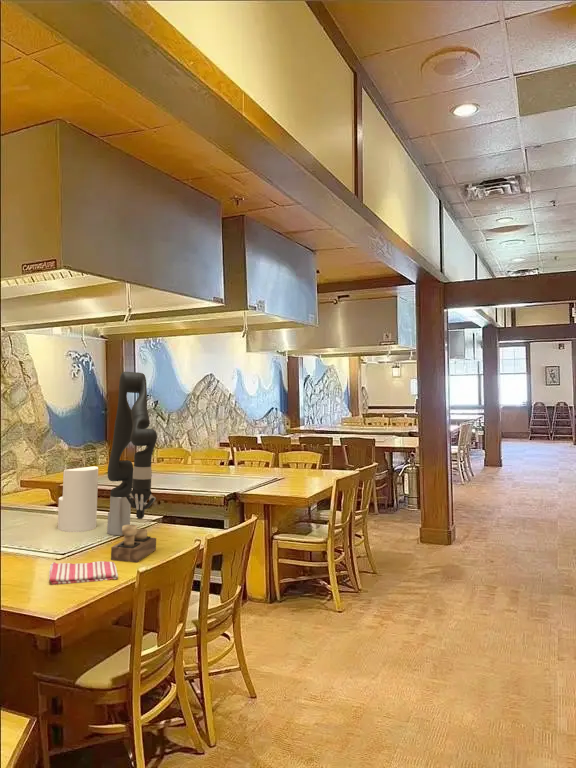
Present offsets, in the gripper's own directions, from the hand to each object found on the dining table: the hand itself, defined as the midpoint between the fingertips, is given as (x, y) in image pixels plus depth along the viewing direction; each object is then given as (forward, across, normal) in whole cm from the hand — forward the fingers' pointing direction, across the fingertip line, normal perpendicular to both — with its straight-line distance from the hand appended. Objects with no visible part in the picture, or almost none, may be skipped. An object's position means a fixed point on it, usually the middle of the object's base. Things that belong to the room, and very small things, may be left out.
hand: (140, 518), depth 248 cm
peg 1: (+9, 0, -10) cm, 14 cm away
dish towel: (+14, -6, -33) cm, 37 cm away
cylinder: (+15, -44, +27) cm, 54 cm away
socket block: (+14, 0, -5) cm, 14 cm away
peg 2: (+14, 0, 0) cm, 14 cm away
